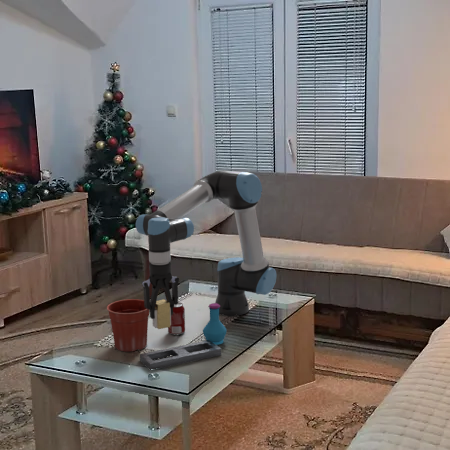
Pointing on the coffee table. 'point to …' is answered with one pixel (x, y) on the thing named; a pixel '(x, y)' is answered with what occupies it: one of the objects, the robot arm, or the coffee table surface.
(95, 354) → the coffee table surface
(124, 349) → the flower pot
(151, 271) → the robot arm
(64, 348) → the coffee table surface
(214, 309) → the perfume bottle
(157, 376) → the coffee table surface
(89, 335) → the coffee table surface
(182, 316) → the soda can
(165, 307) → the yellow wooden block
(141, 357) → the grey slotted tray
